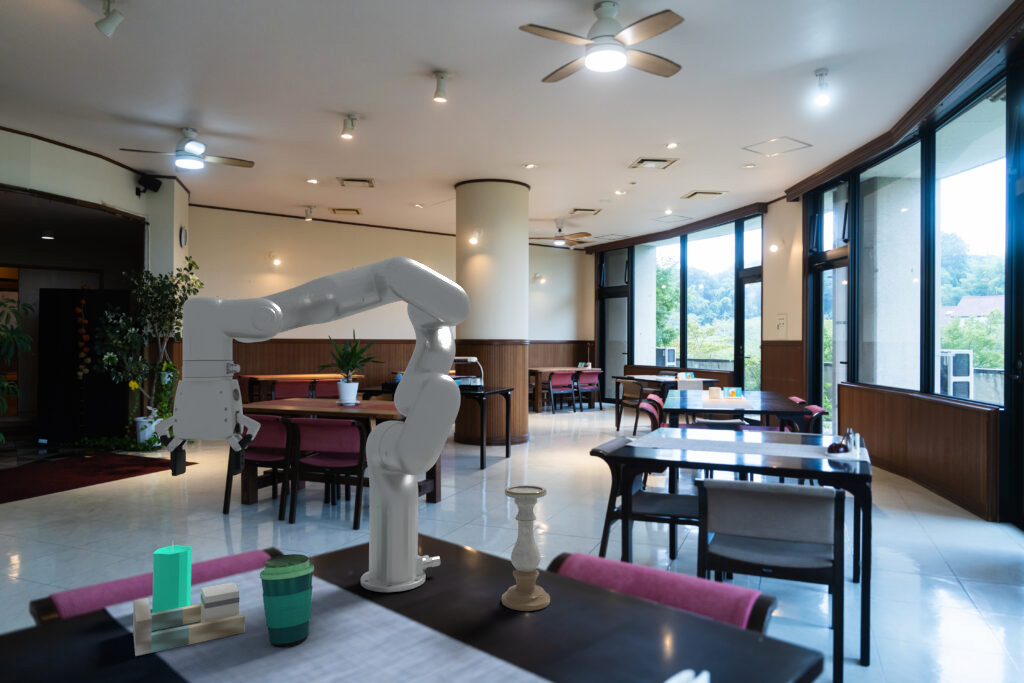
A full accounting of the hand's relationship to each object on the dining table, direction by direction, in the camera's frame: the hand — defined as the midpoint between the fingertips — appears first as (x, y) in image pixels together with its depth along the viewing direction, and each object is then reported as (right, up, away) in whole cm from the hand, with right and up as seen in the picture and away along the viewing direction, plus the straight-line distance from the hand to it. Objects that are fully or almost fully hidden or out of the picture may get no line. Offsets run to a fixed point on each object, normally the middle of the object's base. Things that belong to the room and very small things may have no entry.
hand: (207, 474), depth 104 cm
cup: (+15, -25, -6) cm, 30 cm away
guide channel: (-1, -25, -4) cm, 25 cm away
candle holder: (+53, -25, +9) cm, 60 cm away
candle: (-9, -25, +5) cm, 27 cm away
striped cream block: (+3, -25, -1) cm, 25 cm away
